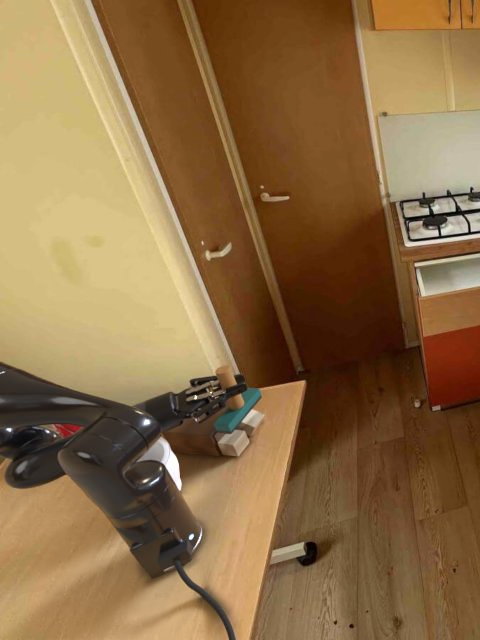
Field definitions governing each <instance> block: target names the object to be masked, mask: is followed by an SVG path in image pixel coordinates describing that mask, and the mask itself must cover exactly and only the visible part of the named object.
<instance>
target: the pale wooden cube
mask: <svg viewBox="0 0 480 640" xmlns="http://www.w3.org/2000/svg"><path fill="white" fill-rule="evenodd" d="M249 444H250V440H249V437H248V435H246V432H245V431H241V430H234V432H233V433H232V434H225V435H224V436H223V437H222V439H221V440H220V441H219V442H218V445H219V448H220V450H221V452H222V454H221V455H223V456H231V457H240V455H241V454H242V452H243V451H244V450H245V449H246V448H247V446H248V445H249Z"/></svg>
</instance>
